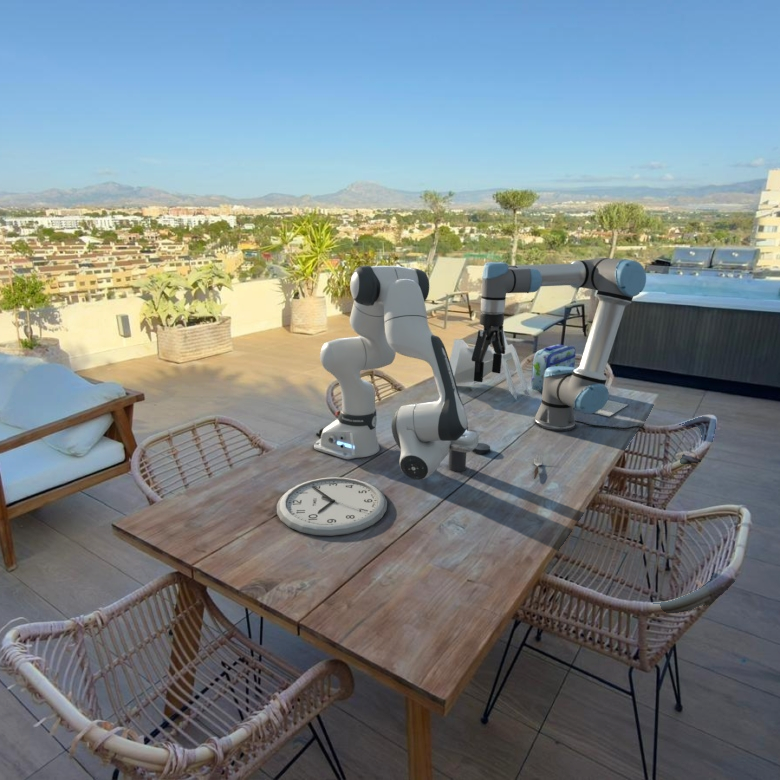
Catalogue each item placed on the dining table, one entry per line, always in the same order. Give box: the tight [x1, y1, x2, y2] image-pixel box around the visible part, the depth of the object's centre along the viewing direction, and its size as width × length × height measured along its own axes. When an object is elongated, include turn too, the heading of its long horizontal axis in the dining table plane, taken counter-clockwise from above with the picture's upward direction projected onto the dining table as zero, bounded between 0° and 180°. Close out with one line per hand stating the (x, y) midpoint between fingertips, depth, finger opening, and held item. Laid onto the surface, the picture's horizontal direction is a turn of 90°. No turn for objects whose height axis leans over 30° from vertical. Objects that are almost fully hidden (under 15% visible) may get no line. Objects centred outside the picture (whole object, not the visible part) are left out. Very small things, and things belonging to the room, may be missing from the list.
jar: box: [447, 426, 469, 472], centre depth 164 cm, size 5×5×15 cm
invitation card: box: [594, 399, 629, 418], centre depth 226 cm, size 21×1×15 cm
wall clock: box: [276, 476, 388, 537], centre depth 142 cm, size 30×2×30 cm
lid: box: [471, 442, 491, 455], centre depth 179 cm, size 6×6×2 cm
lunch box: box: [530, 344, 577, 392], centre depth 247 cm, size 26×11×21 cm, turn 134°
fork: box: [533, 454, 544, 480], centre depth 165 cm, size 3×16×2 cm, turn 160°
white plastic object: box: [449, 330, 531, 400], centre depth 245 cm, size 37×45×31 cm
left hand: (448, 426), depth 151 cm, fingers open, 8 cm apart
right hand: (487, 377), depth 172 cm, fingers open, 13 cm apart
